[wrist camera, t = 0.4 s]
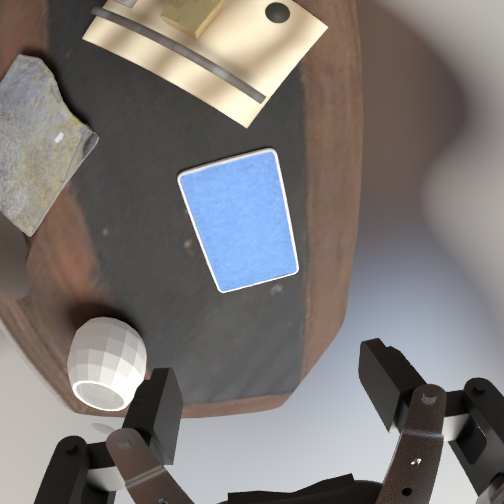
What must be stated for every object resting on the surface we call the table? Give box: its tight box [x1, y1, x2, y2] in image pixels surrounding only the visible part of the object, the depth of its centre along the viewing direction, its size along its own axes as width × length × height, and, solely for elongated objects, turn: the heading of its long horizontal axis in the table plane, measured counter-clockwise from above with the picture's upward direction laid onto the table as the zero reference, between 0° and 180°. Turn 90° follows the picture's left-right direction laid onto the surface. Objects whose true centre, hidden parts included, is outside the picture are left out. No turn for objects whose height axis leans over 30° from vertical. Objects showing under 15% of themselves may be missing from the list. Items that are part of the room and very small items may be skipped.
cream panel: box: [82, 0, 328, 128], centre depth 23 cm, size 23×16×7 cm
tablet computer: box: [177, 148, 299, 293], centre depth 40 cm, size 19×13×1 cm, turn 13°
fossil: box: [0, 54, 99, 237], centre depth 27 cm, size 20×5×17 cm
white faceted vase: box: [67, 317, 146, 411], centre depth 41 cm, size 13×13×14 cm
